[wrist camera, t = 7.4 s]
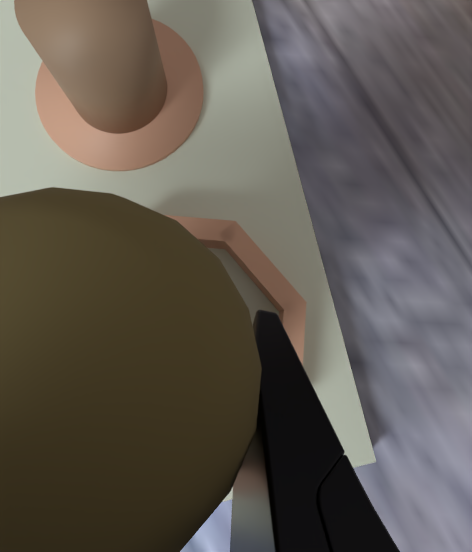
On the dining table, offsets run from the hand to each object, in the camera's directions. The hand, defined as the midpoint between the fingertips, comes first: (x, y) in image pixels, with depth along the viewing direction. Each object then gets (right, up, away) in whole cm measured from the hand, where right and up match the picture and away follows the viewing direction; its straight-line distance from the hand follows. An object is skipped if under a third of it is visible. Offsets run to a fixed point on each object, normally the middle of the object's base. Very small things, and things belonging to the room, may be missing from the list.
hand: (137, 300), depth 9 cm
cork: (0, -2, +6) cm, 7 cm away
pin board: (-2, +3, +9) cm, 10 cm away
